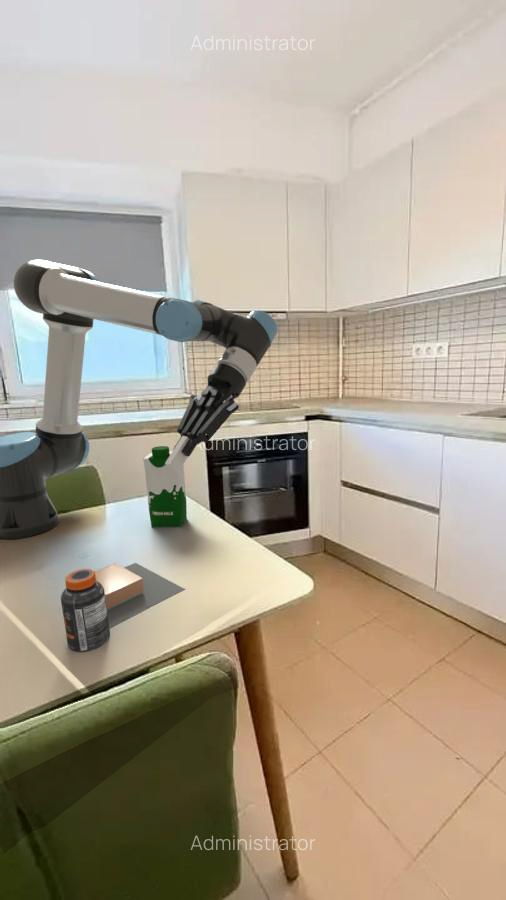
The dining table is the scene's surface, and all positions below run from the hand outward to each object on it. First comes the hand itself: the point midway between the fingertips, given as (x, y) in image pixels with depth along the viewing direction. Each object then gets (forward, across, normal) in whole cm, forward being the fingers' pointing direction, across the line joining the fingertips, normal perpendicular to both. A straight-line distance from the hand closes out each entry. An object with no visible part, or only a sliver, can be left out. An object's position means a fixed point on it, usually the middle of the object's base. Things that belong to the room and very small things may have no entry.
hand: (171, 467), depth 85 cm
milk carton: (+6, -19, +23) cm, 31 cm away
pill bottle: (+31, +10, -2) cm, 33 cm away
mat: (+24, +2, +5) cm, 24 cm away
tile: (+21, +1, +5) cm, 21 cm away
